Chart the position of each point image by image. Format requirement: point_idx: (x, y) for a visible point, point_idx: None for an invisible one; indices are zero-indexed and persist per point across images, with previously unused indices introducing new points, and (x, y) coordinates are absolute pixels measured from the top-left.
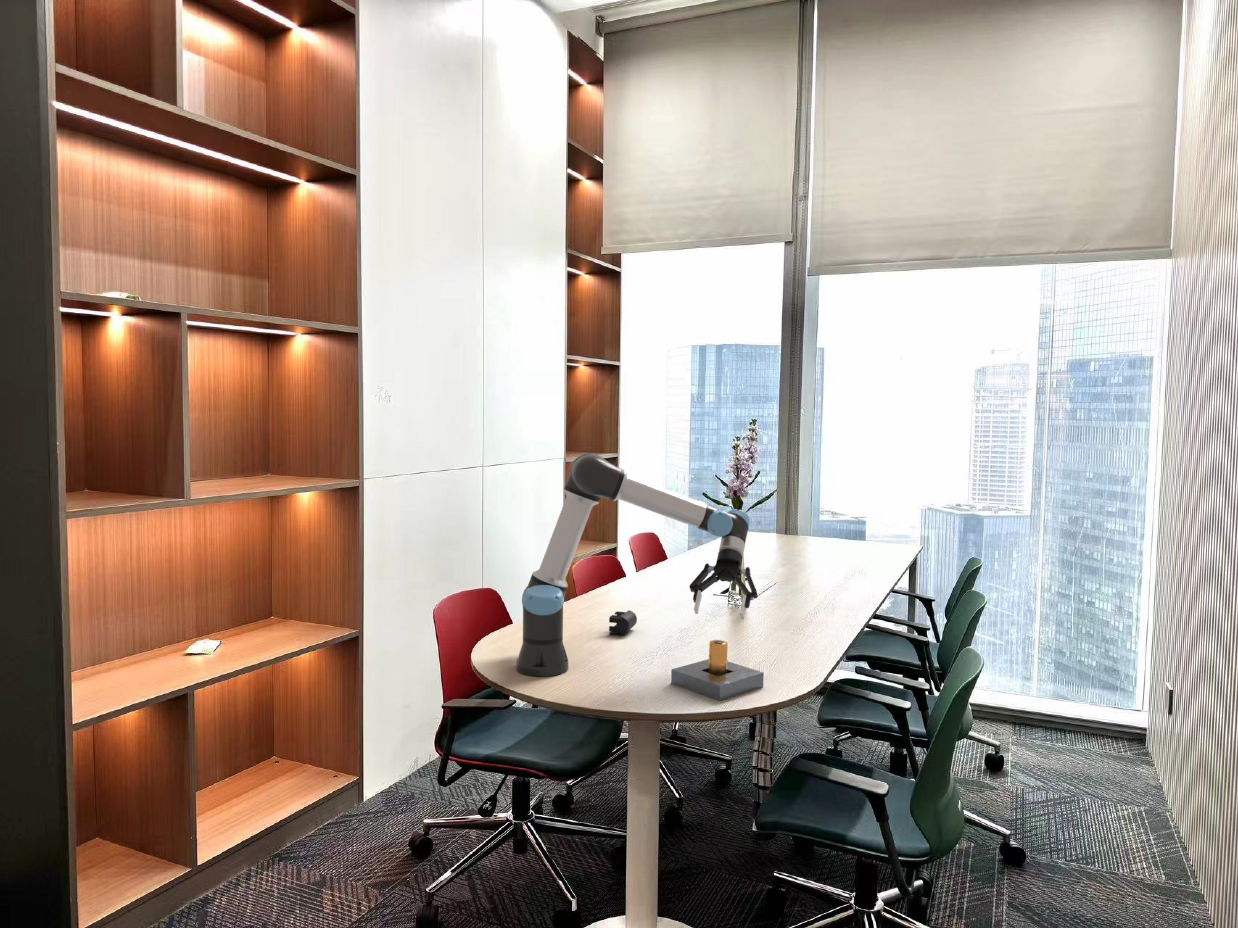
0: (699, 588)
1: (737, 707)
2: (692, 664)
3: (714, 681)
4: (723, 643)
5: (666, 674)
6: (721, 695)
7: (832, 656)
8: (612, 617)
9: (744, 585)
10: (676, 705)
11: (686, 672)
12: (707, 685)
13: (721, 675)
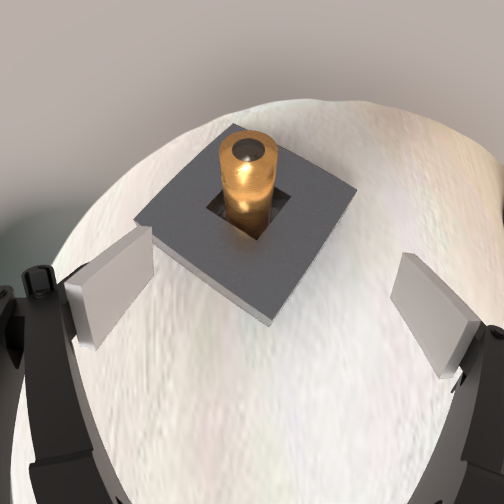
0: (485, 337)
1: (202, 128)
2: (321, 235)
3: None
4: (232, 146)
5: (375, 262)
6: None
7: (13, 473)
8: None
9: (28, 352)
10: (302, 118)
11: (319, 176)
12: None
13: None
